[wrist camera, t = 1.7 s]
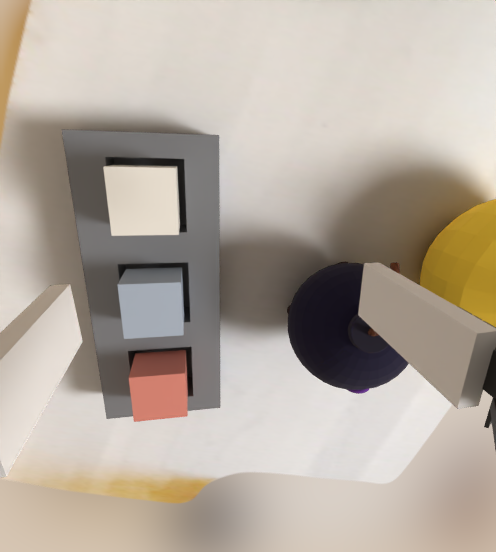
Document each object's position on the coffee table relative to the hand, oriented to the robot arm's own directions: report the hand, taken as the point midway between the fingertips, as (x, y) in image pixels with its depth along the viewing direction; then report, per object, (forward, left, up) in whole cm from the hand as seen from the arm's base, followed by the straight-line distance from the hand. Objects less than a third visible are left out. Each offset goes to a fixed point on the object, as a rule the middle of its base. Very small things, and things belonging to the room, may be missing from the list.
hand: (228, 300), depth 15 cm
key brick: (+15, -5, -16) cm, 23 cm away
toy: (+8, +13, -20) cm, 25 cm away
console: (+6, -5, -20) cm, 21 cm away
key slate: (+6, -5, -16) cm, 18 cm away
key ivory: (-3, -5, -16) cm, 17 cm away
